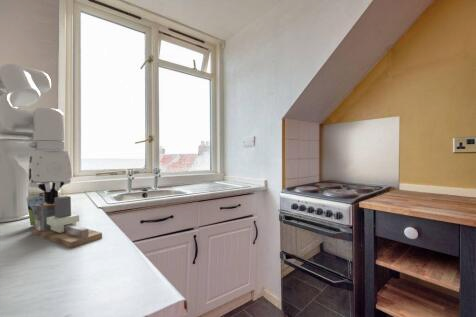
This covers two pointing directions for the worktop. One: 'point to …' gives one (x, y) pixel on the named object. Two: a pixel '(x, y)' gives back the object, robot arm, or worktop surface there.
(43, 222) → the rail bench
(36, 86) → the robot arm
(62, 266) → the worktop surface
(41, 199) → the beverage can
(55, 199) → the carriage
